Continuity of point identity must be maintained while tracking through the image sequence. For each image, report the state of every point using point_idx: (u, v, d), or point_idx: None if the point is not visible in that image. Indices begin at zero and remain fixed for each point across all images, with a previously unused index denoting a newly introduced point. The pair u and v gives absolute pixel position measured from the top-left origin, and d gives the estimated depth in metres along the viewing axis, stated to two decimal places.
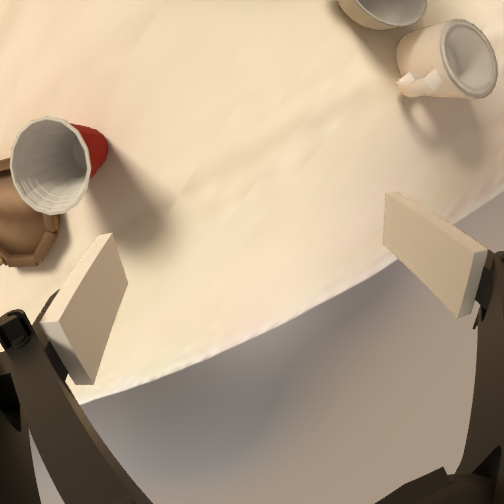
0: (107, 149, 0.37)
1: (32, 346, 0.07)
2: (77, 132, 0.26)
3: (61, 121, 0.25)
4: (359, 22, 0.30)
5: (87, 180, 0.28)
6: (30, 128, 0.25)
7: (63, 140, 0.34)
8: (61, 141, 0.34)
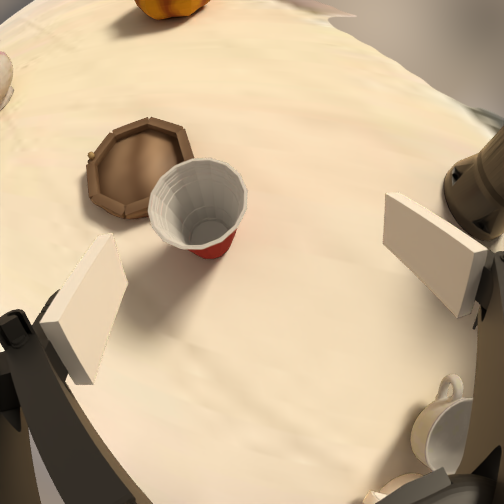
0: None
1: (32, 346, 0.07)
2: (236, 227, 0.32)
3: (244, 207, 0.32)
4: (413, 435, 0.32)
5: (189, 247, 0.31)
6: (232, 175, 0.34)
7: (217, 210, 0.42)
8: (216, 208, 0.42)
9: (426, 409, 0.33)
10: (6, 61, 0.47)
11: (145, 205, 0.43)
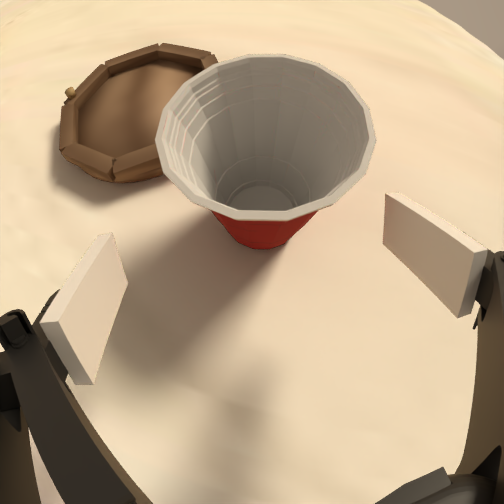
0: None
1: (32, 346, 0.07)
2: (362, 174, 0.13)
3: (370, 137, 0.14)
4: None
5: (257, 216, 0.13)
6: (329, 83, 0.16)
7: (276, 165, 0.24)
8: (275, 161, 0.23)
9: None
10: None
11: (148, 157, 0.24)
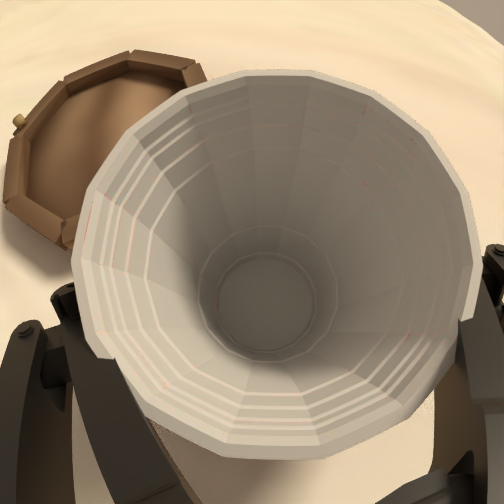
0: None
1: None
2: None
3: (474, 260, 0.07)
4: None
5: (263, 453, 0.06)
6: (393, 132, 0.09)
7: (288, 237, 0.17)
8: (286, 232, 0.16)
9: None
10: None
11: None
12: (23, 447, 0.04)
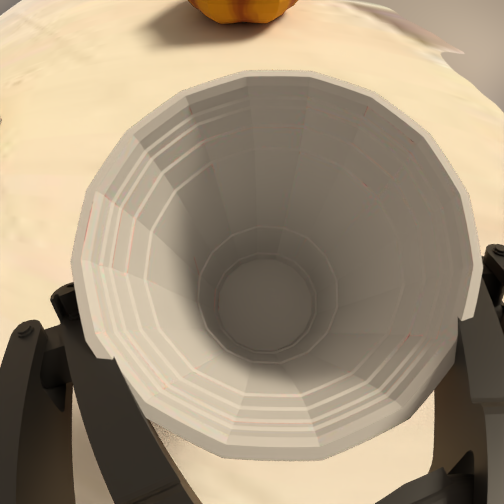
0: None
1: None
2: None
3: (474, 262, 0.07)
4: None
5: (263, 454, 0.06)
6: (394, 133, 0.09)
7: (288, 237, 0.17)
8: (286, 233, 0.16)
9: None
10: None
11: None
12: (23, 447, 0.04)
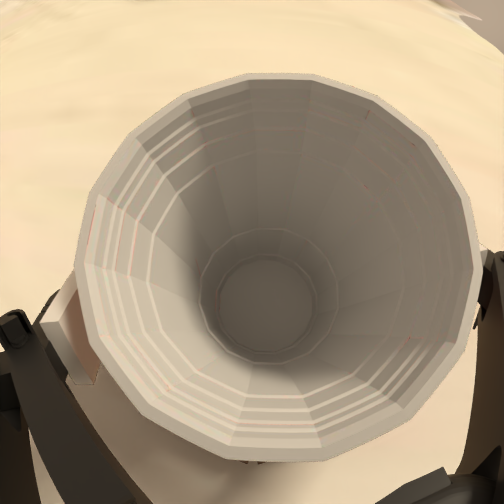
0: None
1: (32, 346, 0.07)
2: (459, 352, 0.06)
3: (474, 266, 0.07)
4: None
5: (266, 456, 0.06)
6: (395, 137, 0.09)
7: (288, 239, 0.17)
8: (287, 234, 0.16)
9: None
10: None
11: None
12: None
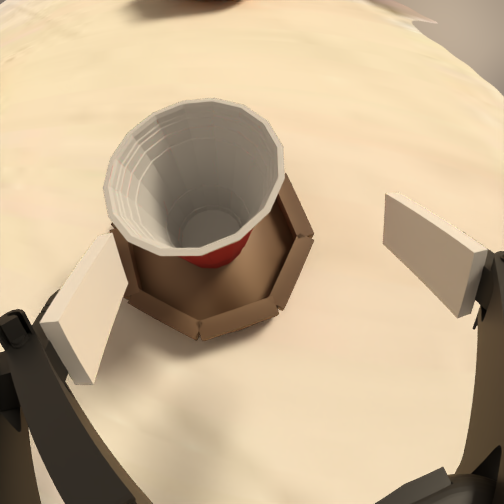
0: None
1: (32, 346, 0.07)
2: (266, 211, 0.16)
3: (279, 175, 0.17)
4: None
5: (176, 253, 0.16)
6: (252, 123, 0.19)
7: (222, 192, 0.27)
8: (220, 189, 0.26)
9: None
10: None
11: (238, 322, 0.25)
12: None
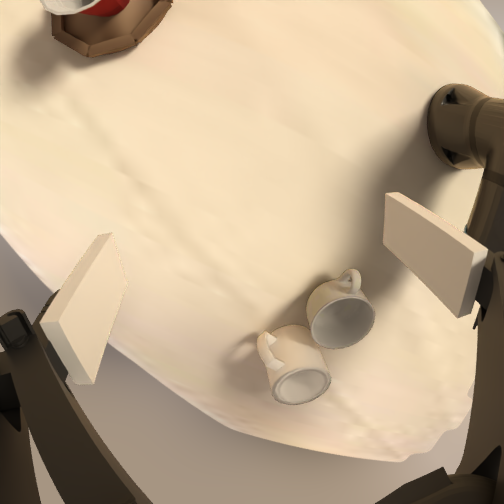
0: (109, 16, 0.30)
1: (32, 346, 0.07)
2: None
3: None
4: (309, 301, 0.51)
5: (64, 13, 0.21)
6: None
7: None
8: None
9: (326, 285, 0.50)
10: None
11: (110, 47, 0.31)
12: None
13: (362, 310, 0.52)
